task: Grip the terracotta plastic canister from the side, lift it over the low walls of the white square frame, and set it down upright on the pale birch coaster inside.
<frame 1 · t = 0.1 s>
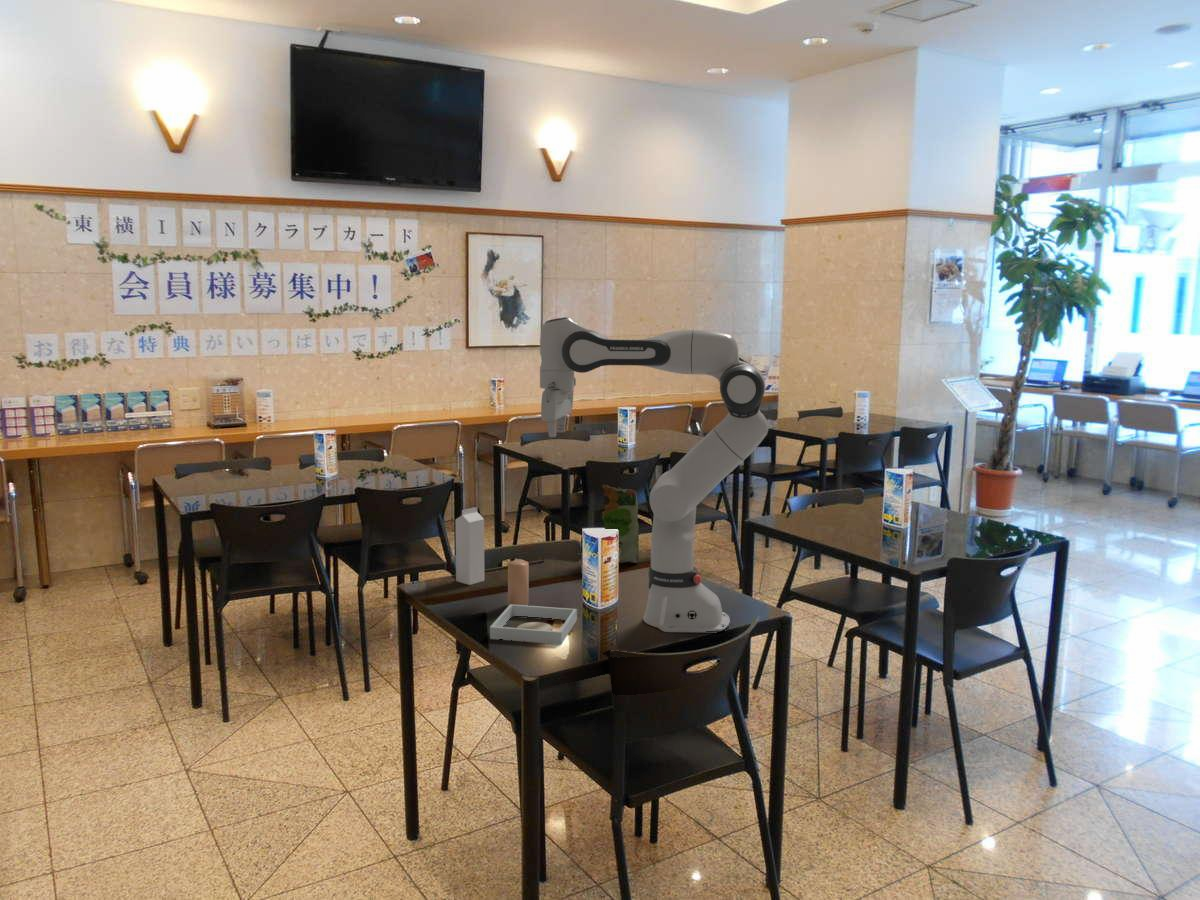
hand: (556, 434, 240), 48 cm above the table, tool pointing down, fingers open, 8 cm apart
white square frame: (534, 629, 234), on the table
pouch: (619, 562, 297), on the table
canister: (518, 605, 253), on the table
coaster: (534, 629, 234), resting in white square frame
milk: (470, 581, 275), on the table
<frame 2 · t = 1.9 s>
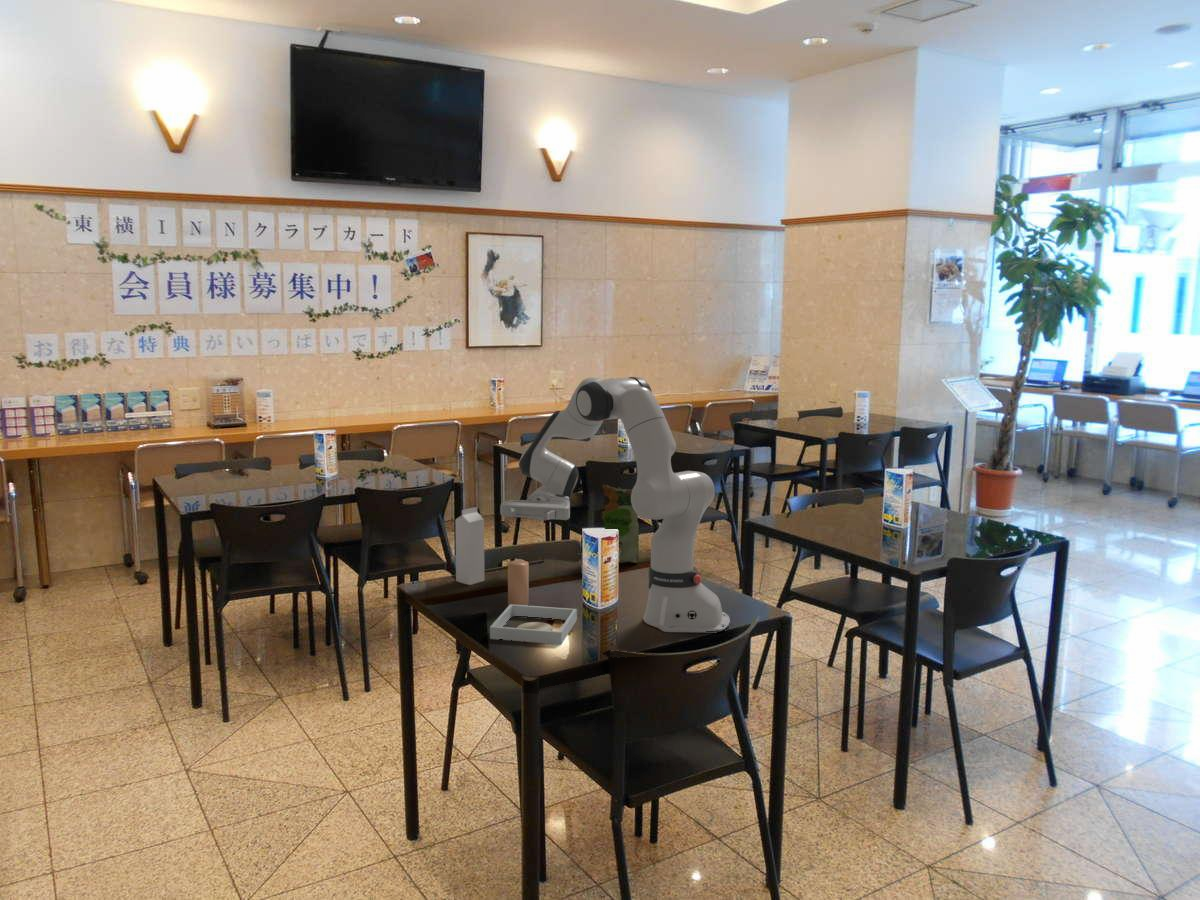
hand: (529, 516, 261), 22 cm above the table, tool horizontal, fingers open, 8 cm apart
nothing on the table moved.
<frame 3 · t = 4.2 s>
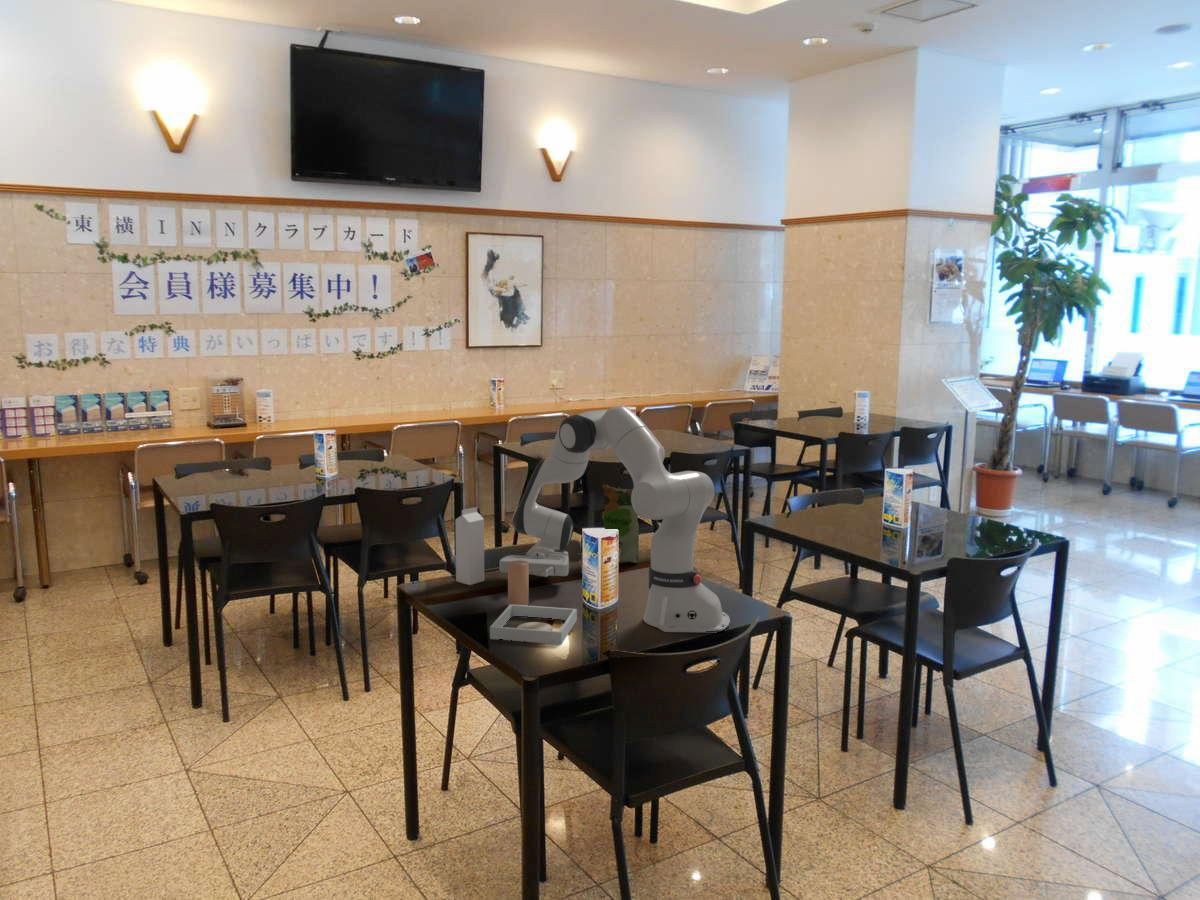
hand: (527, 573, 261), 6 cm above the table, tool horizontal, fingers open, 8 cm apart
nothing on the table moved.
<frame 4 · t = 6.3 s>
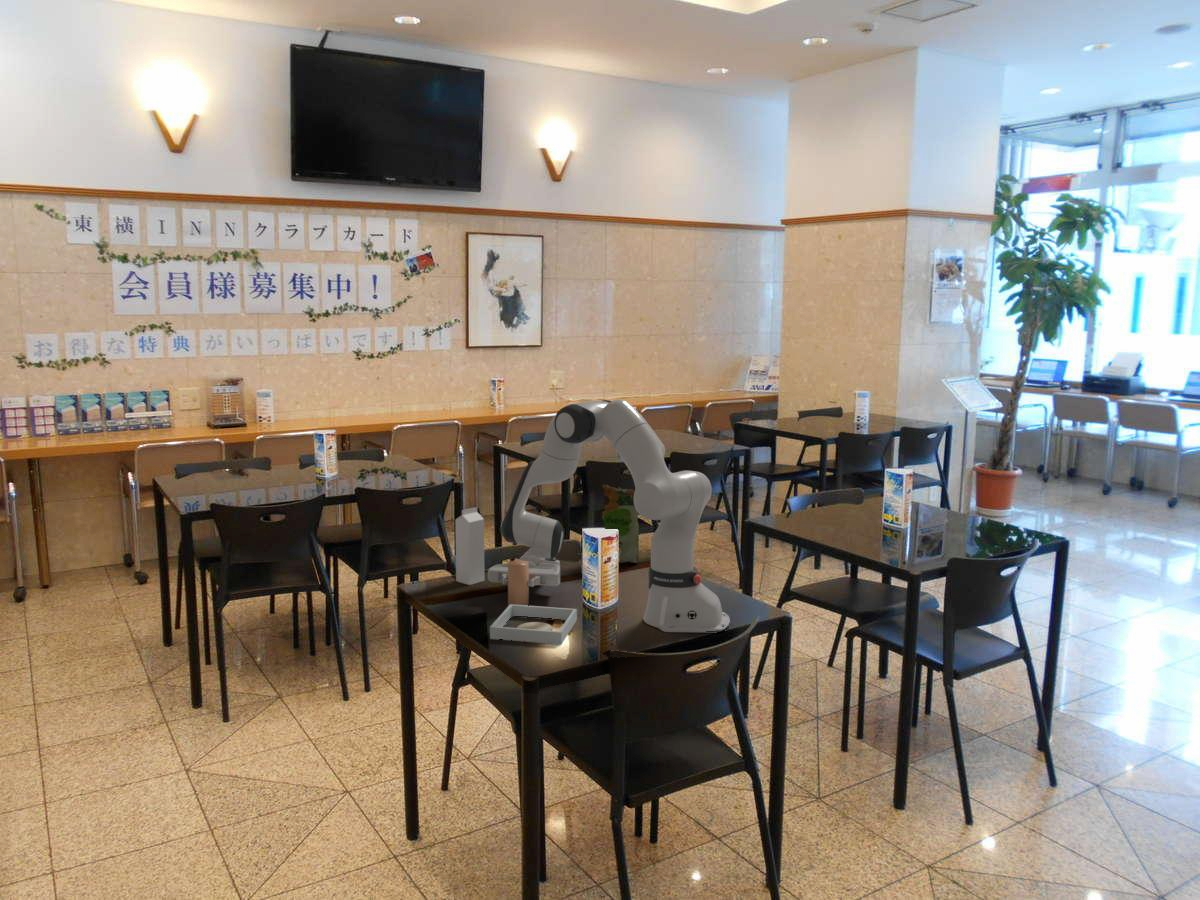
hand: (517, 583, 251), 7 cm above the table, tool horizontal, fingers closed on canister, 6 cm apart
canister: (518, 605, 253), on the table, touching gripper
everything else where it was.
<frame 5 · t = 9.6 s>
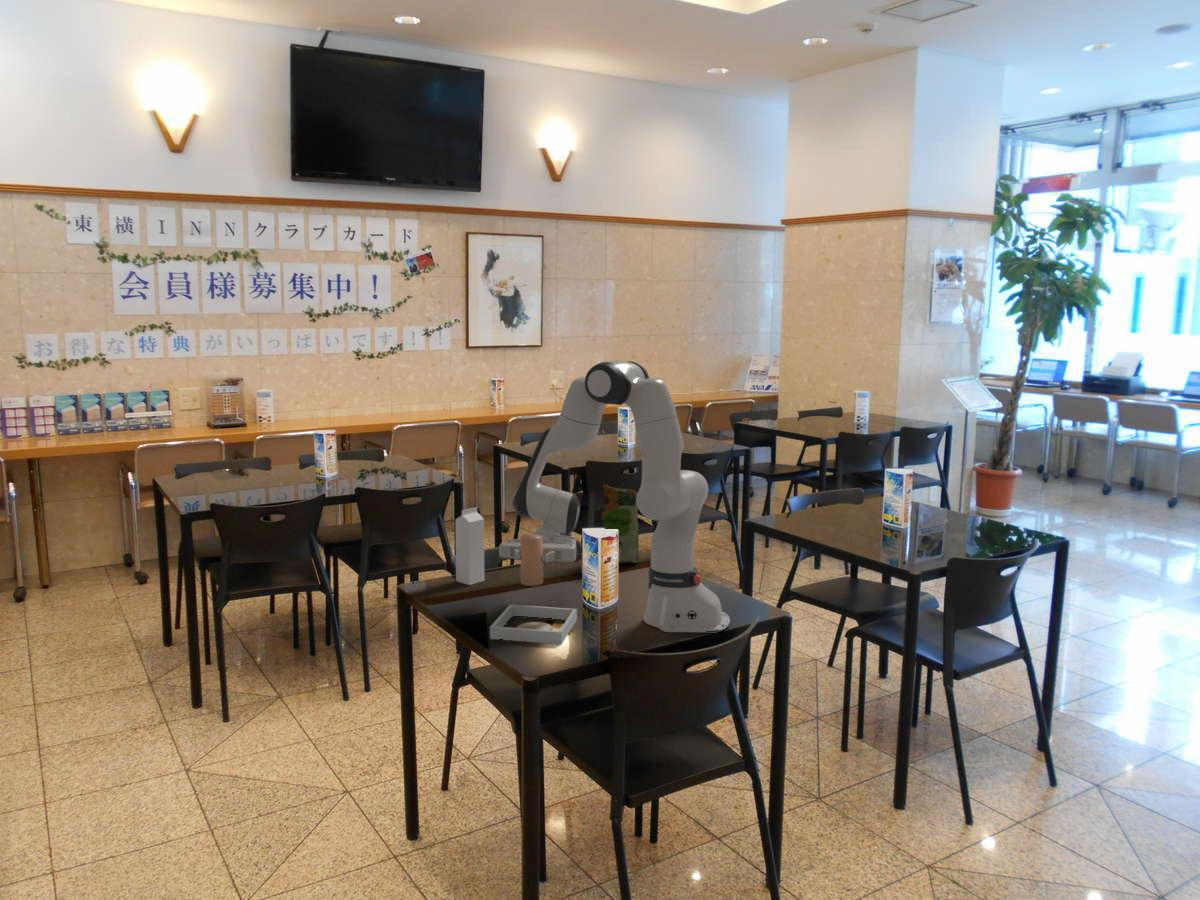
hand: (530, 558, 235), 18 cm above the table, tool horizontal, fingers closed on canister, 6 cm apart
canister: (531, 582, 236), point 11 cm above the table, touching gripper
everything else where it was.
when the fingers open (8 cm above the table, at t = 12.8 s): canister drops 1 cm, resting on coaster.
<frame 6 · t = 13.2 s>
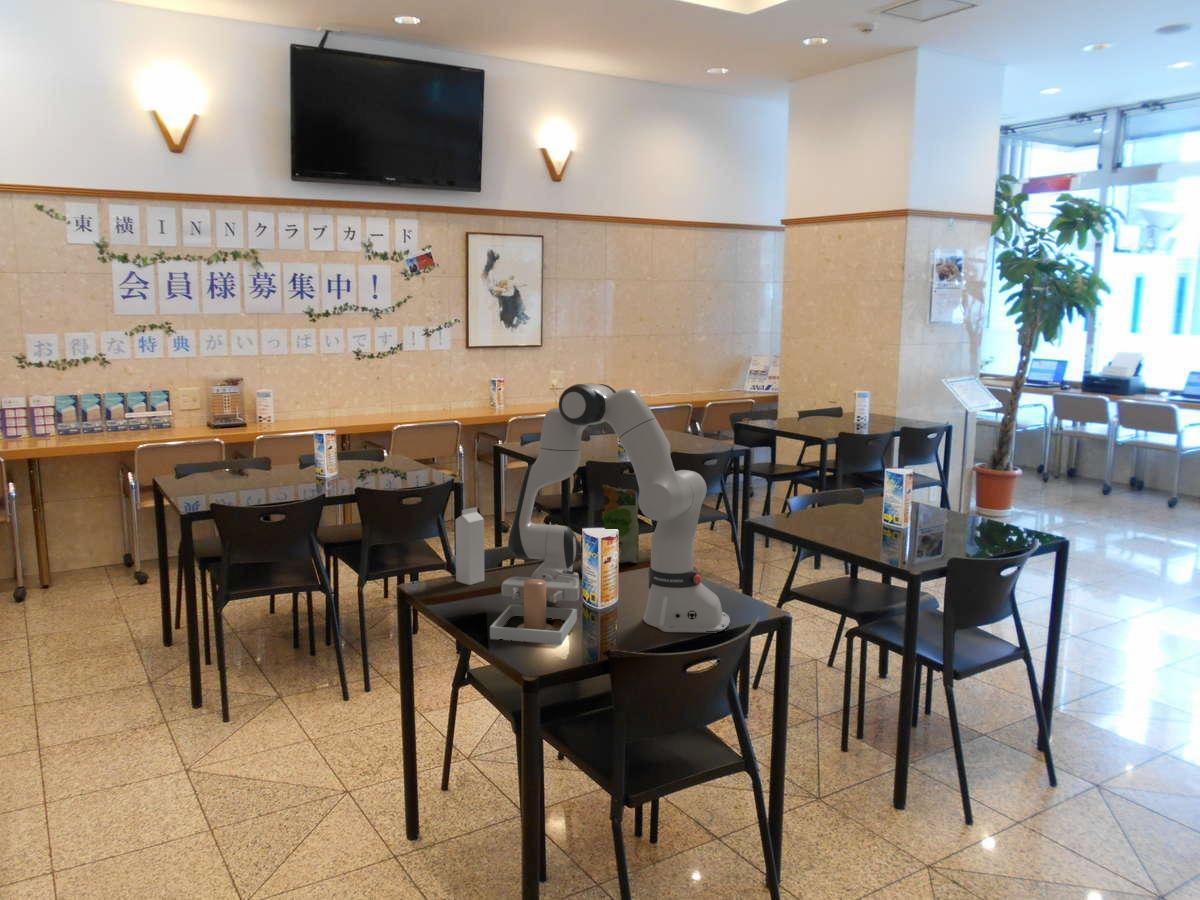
hand: (533, 598, 232), 8 cm above the table, tool horizontal, fingers open, 8 cm apart
canister: (534, 628, 234), resting on coaster
everything else where it was.
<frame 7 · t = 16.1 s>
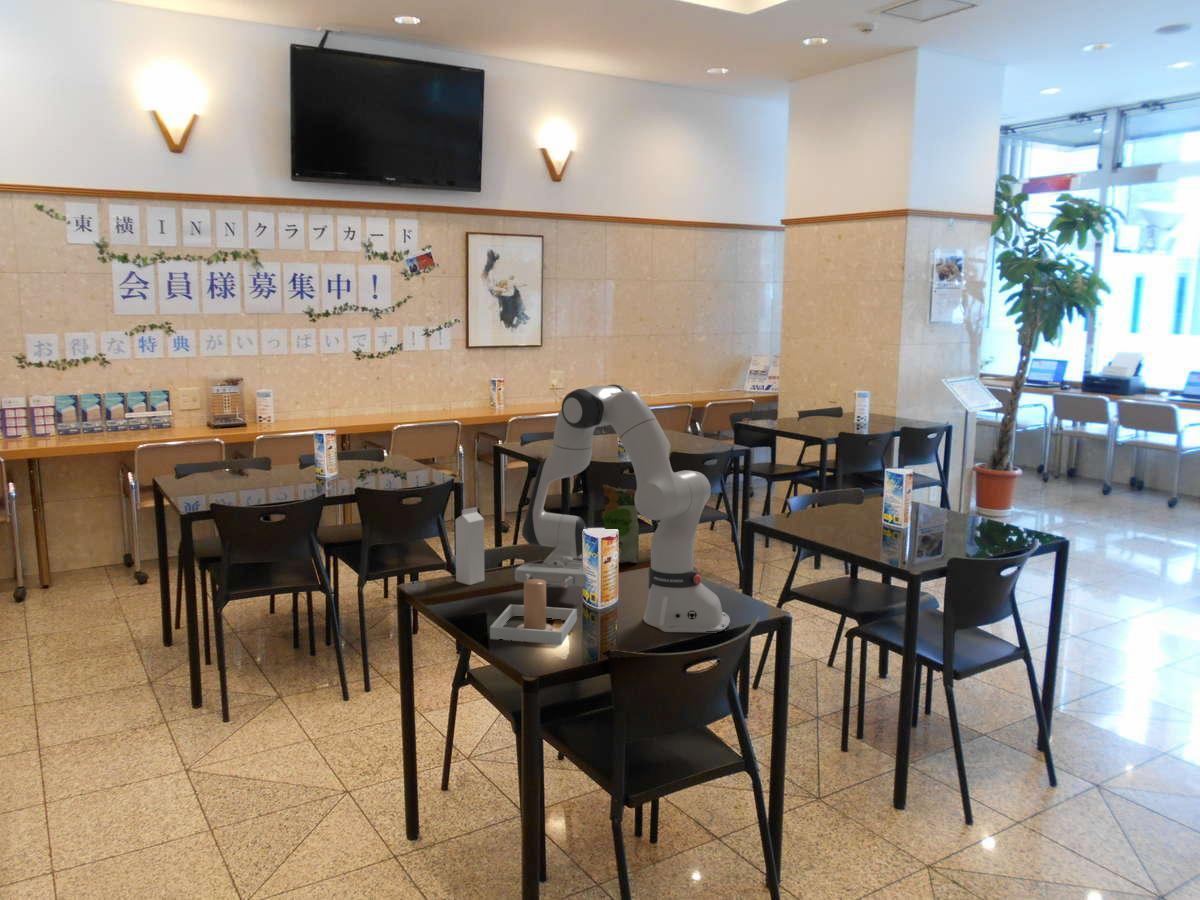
hand: (546, 583, 245), 8 cm above the table, tool horizontal, fingers open, 8 cm apart
nothing on the table moved.
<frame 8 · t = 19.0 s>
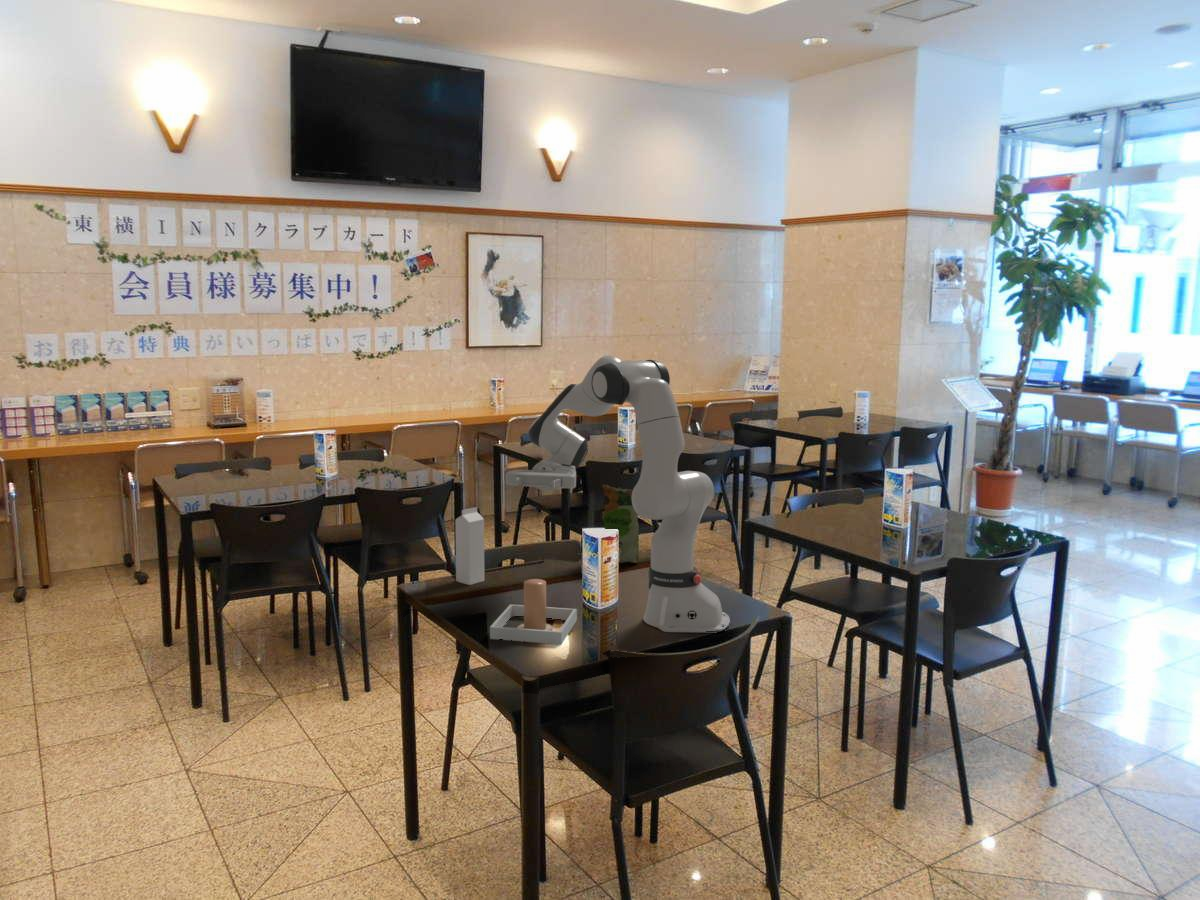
hand: (534, 484, 257), 32 cm above the table, tool horizontal, fingers open, 8 cm apart
nothing on the table moved.
at the end: canister 0.1 cm from the coaster (horizontally); canister tilted 0°; the gripper is holding nothing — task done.
